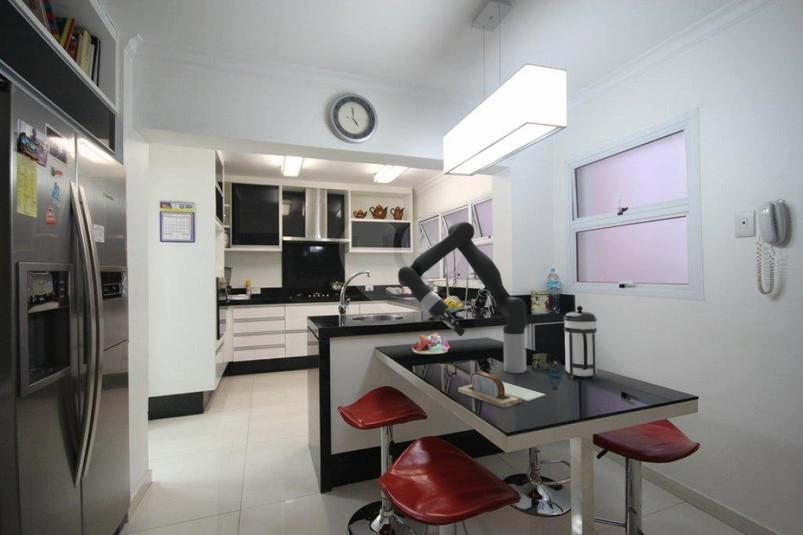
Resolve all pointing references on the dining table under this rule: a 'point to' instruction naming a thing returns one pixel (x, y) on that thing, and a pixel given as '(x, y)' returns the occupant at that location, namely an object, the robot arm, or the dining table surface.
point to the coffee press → (580, 344)
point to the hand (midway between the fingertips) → (462, 334)
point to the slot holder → (504, 403)
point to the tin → (487, 384)
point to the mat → (522, 392)
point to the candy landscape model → (431, 345)
